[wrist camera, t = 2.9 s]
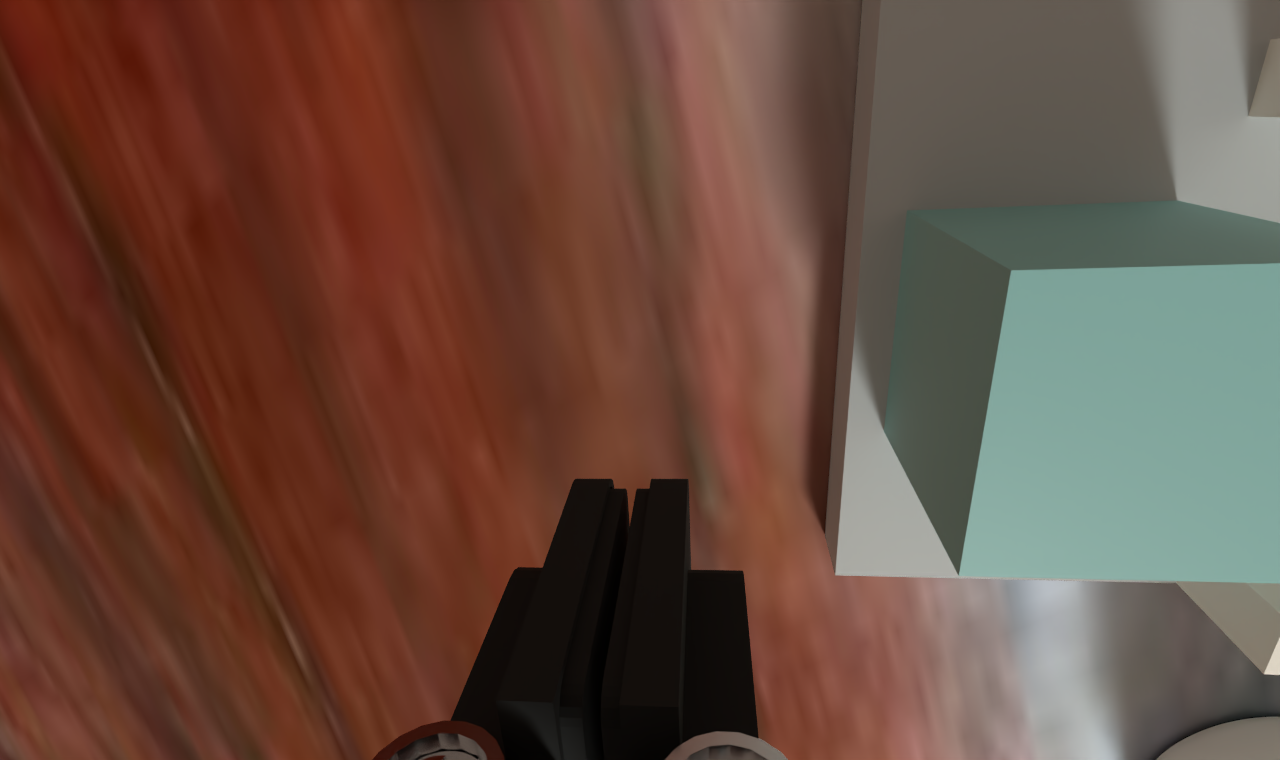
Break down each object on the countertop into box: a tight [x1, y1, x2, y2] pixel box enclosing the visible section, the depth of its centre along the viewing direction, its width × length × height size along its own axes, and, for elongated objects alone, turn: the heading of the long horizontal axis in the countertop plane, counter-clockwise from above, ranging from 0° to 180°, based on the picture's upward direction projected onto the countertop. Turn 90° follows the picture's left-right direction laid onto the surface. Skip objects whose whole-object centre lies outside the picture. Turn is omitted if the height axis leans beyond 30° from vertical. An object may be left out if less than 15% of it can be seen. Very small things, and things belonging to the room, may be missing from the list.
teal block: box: [884, 200, 1280, 584], centre depth 14 cm, size 6×6×6 cm
